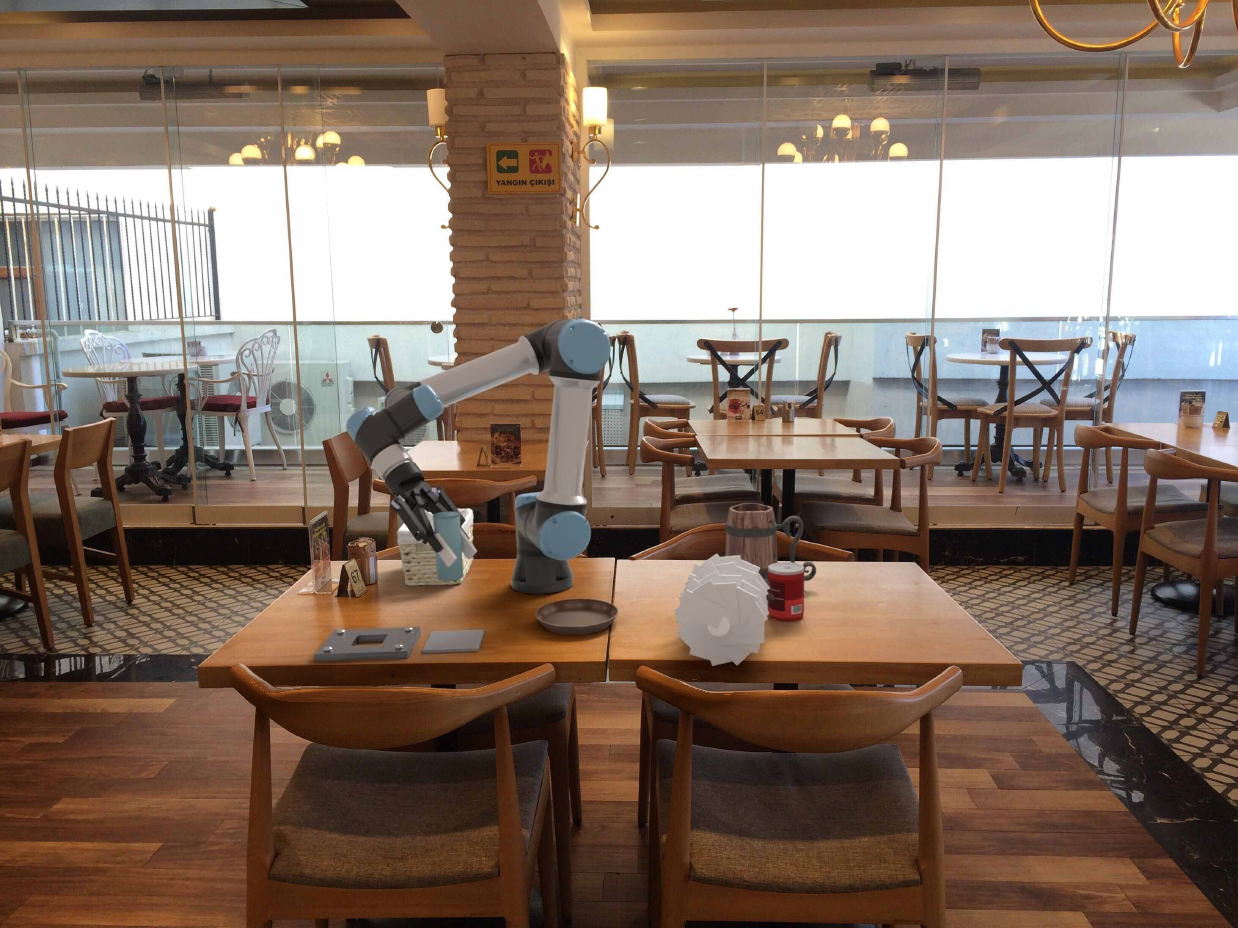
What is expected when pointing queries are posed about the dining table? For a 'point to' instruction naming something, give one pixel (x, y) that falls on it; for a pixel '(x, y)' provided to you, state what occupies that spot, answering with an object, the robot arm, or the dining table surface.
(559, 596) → the dining table surface
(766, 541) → the tankard
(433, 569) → the storage basket
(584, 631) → the plant saucer
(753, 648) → the spiral staircase
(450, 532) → the plug
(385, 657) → the flange plate
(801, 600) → the canned food
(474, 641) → the pad
